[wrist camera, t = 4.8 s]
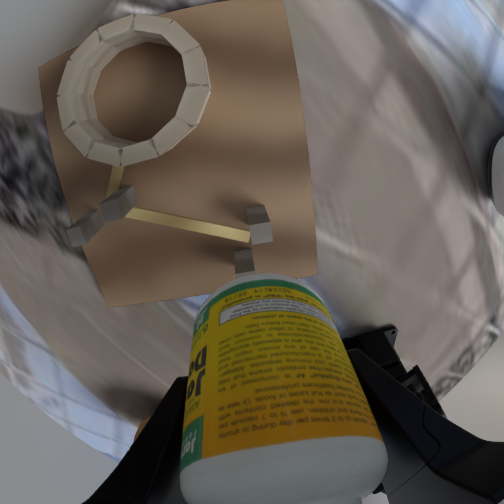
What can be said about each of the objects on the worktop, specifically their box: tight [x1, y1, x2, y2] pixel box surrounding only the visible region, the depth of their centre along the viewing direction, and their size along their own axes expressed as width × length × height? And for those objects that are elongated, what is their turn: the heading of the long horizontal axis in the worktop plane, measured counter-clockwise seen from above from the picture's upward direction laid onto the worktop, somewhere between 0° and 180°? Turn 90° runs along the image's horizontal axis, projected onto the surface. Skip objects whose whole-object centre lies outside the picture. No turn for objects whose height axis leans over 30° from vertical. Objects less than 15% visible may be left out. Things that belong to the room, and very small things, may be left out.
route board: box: [39, 0, 318, 308], centre depth 16 cm, size 20×17×4 cm
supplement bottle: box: [180, 273, 388, 504], centre depth 7 cm, size 5×5×10 cm
